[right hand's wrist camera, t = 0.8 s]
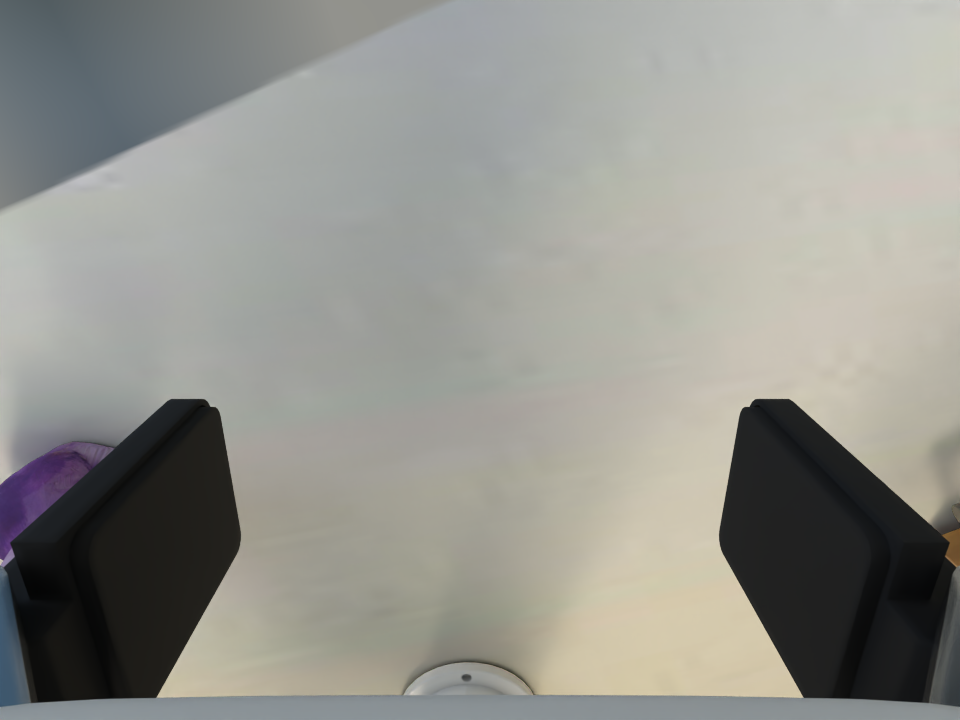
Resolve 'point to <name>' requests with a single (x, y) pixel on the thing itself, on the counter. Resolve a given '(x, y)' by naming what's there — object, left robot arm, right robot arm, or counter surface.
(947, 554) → the drawer
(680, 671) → the counter surface
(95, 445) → the figurine
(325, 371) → the counter surface
